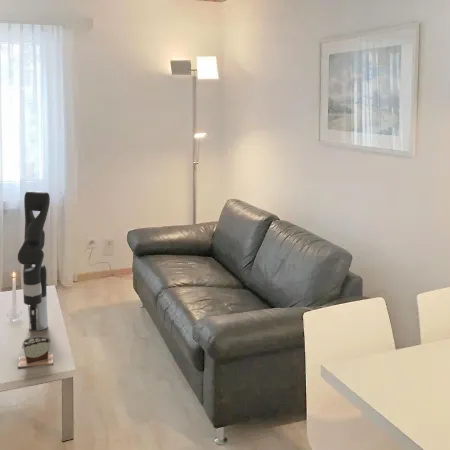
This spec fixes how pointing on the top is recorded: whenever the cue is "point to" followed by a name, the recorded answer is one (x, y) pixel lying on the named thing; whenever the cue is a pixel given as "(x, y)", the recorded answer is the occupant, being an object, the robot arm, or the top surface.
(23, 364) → the picture board
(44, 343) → the food container
